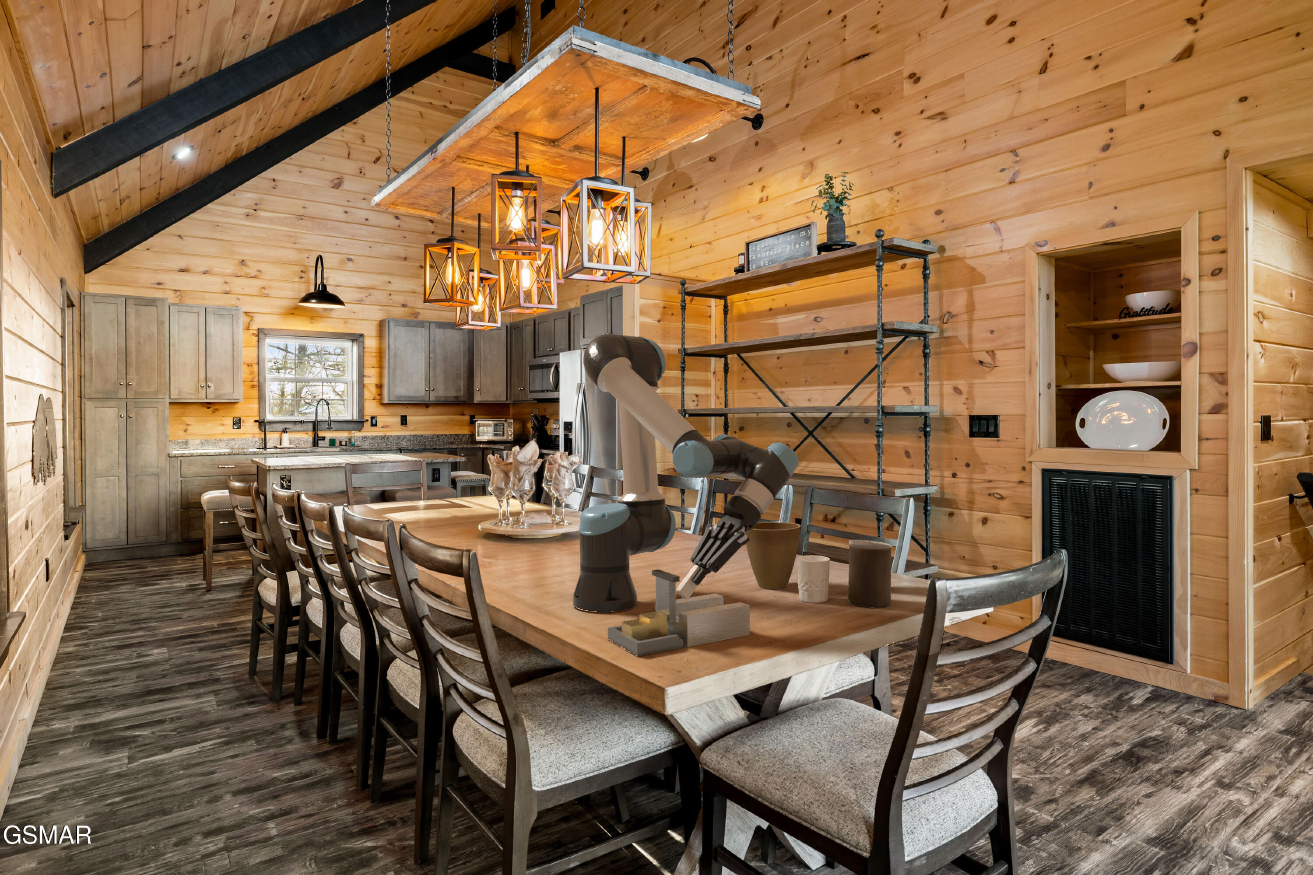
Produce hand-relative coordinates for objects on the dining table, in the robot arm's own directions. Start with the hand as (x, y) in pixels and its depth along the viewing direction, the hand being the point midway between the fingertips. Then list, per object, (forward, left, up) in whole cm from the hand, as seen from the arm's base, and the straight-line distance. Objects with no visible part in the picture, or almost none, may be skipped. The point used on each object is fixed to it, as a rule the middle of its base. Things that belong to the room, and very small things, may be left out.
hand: (681, 594), depth 145 cm
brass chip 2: (-4, -5, -7) cm, 10 cm away
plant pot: (+4, +51, -9) cm, 52 cm away
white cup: (+17, +41, -9) cm, 45 cm away
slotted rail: (+2, +4, -9) cm, 10 cm away
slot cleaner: (-2, -3, -4) cm, 6 cm away
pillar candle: (+30, +43, -9) cm, 53 cm away
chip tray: (-5, -7, -9) cm, 12 cm away
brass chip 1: (-5, -7, -6) cm, 10 cm away
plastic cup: (+28, +58, -9) cm, 65 cm away
